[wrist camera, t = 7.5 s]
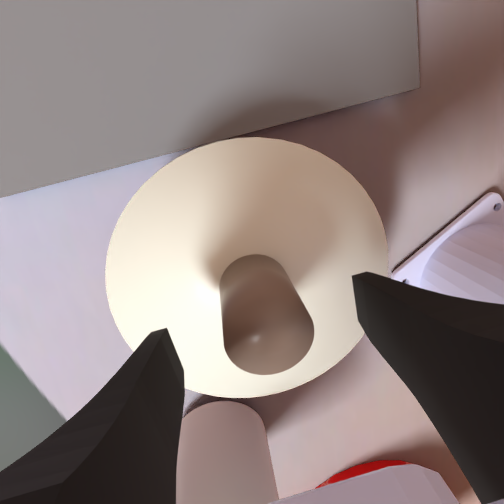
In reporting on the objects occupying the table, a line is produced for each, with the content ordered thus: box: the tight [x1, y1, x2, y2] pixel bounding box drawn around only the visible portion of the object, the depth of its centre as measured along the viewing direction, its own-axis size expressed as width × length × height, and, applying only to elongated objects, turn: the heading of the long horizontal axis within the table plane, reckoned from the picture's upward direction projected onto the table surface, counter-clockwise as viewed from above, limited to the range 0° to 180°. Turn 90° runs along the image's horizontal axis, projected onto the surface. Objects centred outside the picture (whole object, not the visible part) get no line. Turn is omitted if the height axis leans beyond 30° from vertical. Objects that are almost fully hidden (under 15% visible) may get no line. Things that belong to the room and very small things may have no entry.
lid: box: [105, 137, 388, 398], centre depth 14 cm, size 13×13×5 cm
